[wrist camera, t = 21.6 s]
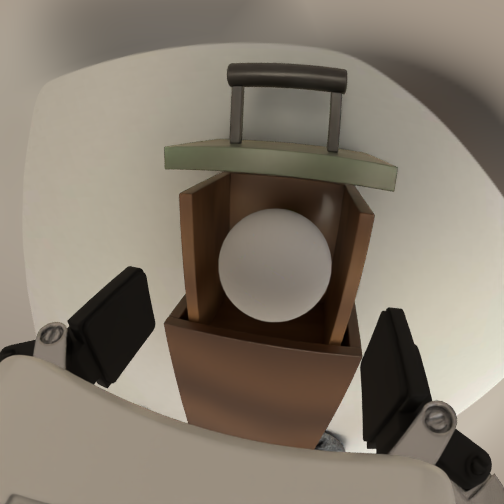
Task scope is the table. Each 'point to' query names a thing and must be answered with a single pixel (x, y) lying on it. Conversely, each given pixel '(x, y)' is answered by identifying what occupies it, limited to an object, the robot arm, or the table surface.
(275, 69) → the drawer
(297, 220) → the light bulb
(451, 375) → the table surface
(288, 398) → the cabinet
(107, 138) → the table surface
